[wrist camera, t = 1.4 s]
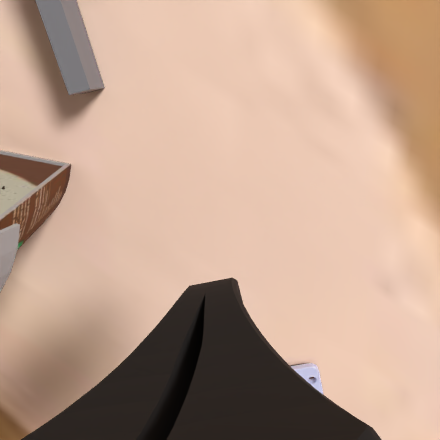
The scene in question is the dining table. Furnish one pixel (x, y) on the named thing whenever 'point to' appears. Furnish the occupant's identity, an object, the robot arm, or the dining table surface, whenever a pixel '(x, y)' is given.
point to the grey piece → (70, 45)
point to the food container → (26, 200)
